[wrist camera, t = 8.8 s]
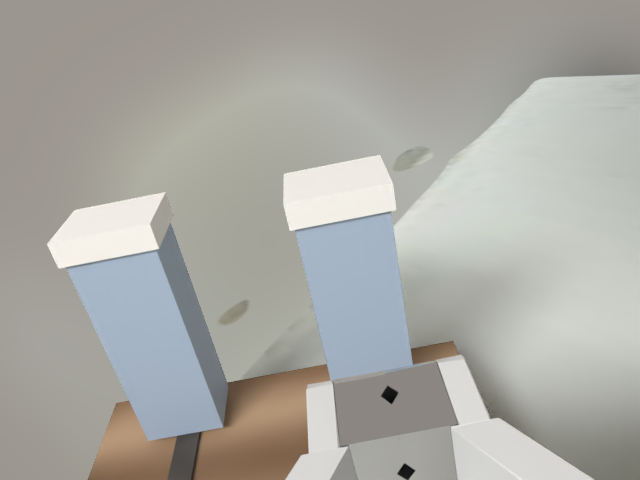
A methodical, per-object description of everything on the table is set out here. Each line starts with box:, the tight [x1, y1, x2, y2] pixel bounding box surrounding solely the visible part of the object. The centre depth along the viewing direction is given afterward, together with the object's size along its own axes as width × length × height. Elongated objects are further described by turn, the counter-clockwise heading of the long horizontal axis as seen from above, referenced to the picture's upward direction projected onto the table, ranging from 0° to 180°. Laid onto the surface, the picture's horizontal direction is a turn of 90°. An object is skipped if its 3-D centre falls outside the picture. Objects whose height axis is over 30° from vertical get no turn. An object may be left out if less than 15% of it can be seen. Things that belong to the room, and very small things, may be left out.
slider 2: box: [283, 155, 413, 381], centre depth 26 cm, size 3×4×12 cm
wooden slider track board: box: [88, 341, 459, 480], centre depth 28 cm, size 12×20×4 cm, turn 93°
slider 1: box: [47, 192, 229, 441], centre depth 27 cm, size 3×4×12 cm
